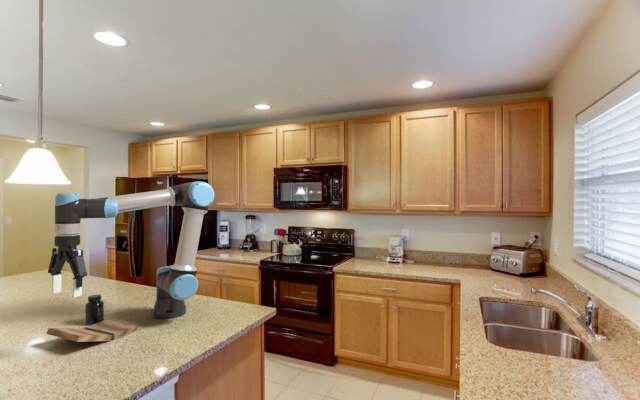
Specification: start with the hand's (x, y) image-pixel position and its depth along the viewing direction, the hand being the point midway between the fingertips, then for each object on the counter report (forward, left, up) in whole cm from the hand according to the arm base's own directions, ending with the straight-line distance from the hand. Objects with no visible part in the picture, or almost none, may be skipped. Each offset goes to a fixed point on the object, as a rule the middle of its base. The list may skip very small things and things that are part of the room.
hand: (66, 294), depth 120 cm
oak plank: (-5, 0, -18) cm, 18 cm away
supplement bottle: (-21, -16, -20) cm, 33 cm away
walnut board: (-17, 0, -20) cm, 26 cm away
